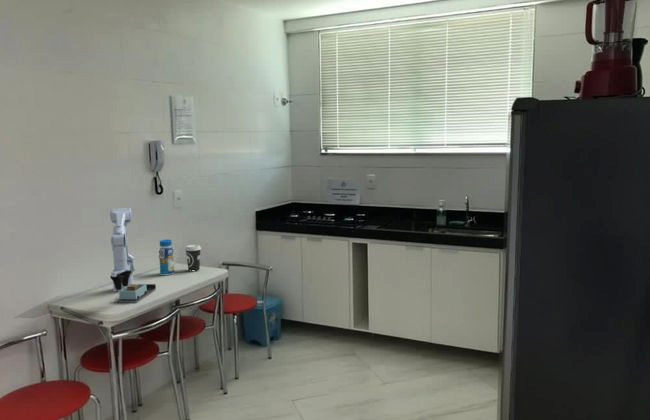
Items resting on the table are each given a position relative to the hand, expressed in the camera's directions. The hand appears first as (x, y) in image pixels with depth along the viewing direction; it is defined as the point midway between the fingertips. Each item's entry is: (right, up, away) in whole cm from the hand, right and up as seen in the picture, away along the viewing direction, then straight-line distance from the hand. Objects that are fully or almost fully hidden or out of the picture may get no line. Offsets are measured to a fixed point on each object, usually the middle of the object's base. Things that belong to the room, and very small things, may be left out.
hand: (122, 287), depth 243 cm
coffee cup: (+17, 0, +67) cm, 69 cm away
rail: (+1, -6, +16) cm, 17 cm away
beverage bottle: (+3, -1, +60) cm, 60 cm away
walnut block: (+1, -5, +12) cm, 13 cm away
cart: (+1, -6, +12) cm, 13 cm away
